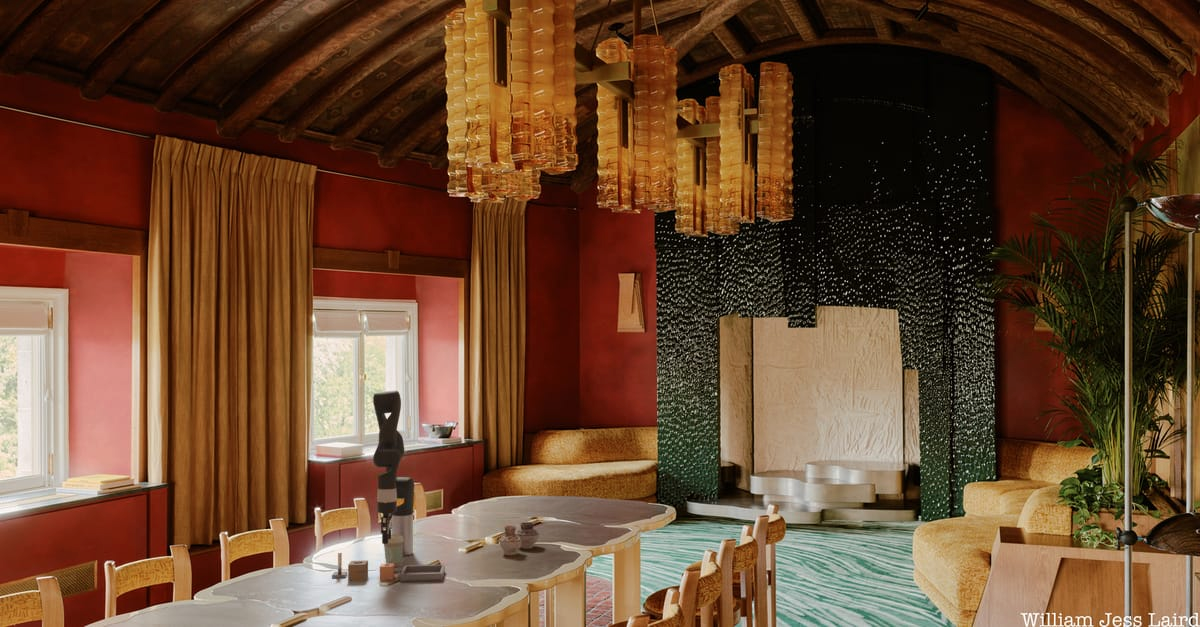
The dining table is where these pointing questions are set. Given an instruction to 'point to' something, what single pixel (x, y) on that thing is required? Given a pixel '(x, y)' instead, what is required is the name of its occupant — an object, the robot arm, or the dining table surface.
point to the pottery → (518, 538)
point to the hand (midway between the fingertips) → (386, 541)
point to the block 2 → (387, 571)
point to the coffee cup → (394, 550)
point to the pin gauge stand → (339, 569)
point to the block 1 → (358, 570)
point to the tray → (422, 573)
